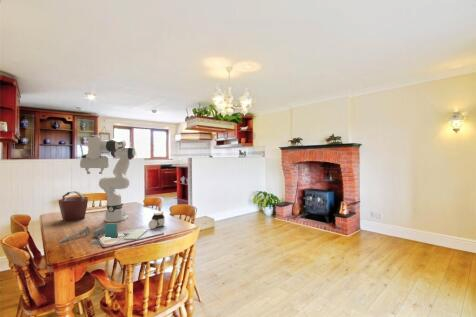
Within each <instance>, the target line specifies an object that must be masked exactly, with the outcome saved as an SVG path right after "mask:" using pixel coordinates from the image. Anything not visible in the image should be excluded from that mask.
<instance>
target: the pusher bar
mask: <svg viewBox="0 0 476 317" xmlns="http://www.w3.org/2000/svg"><path fill="white" fill-rule="evenodd" d="M100 235H101V236H103V235H105V224H104V225H103V226H101V227H99V228H96V229H94V230H93V235H92V236H93V238H99V237H101V236H100ZM98 236H99V237H98Z"/></svg>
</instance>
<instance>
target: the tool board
mask: <svg viewBox="0 0 476 317" xmlns="http://www.w3.org/2000/svg"><path fill="white" fill-rule="evenodd" d="M148 230H149V229H145V228H144V229H139V228H138V229H137V228H136V229H135V230H133V231H132V232H131V233H130V234H127V235H126V236H125V237H123V240H124V241H126V240H127V241H128V240H129V241H137V240H139V239H140V238H141V237H142V236H143V235H144V234H146V233H147V232H148Z"/></svg>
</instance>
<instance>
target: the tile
mask: <svg viewBox="0 0 476 317" xmlns="http://www.w3.org/2000/svg"><path fill="white" fill-rule="evenodd" d="M104 225H105V233H104V235H105V237H111V238H117V237H118V233H119V223H118V222H106V223H105V224H104Z"/></svg>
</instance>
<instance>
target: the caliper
mask: <svg viewBox="0 0 476 317" xmlns="http://www.w3.org/2000/svg"><path fill="white" fill-rule="evenodd" d="M83 234H85V235H86V236H87V235H90V234H91V228H90V227H89V226H86V227H85V228H84V229H82V230H80V231H78V232H76V233H74V234H72V235H70V236H67V237H65V238H62V239H61V240H60V241H58V244H60V243H64V242H67V241H69V240H71V239H73V238H75V237H77V236H82V235H83Z"/></svg>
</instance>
